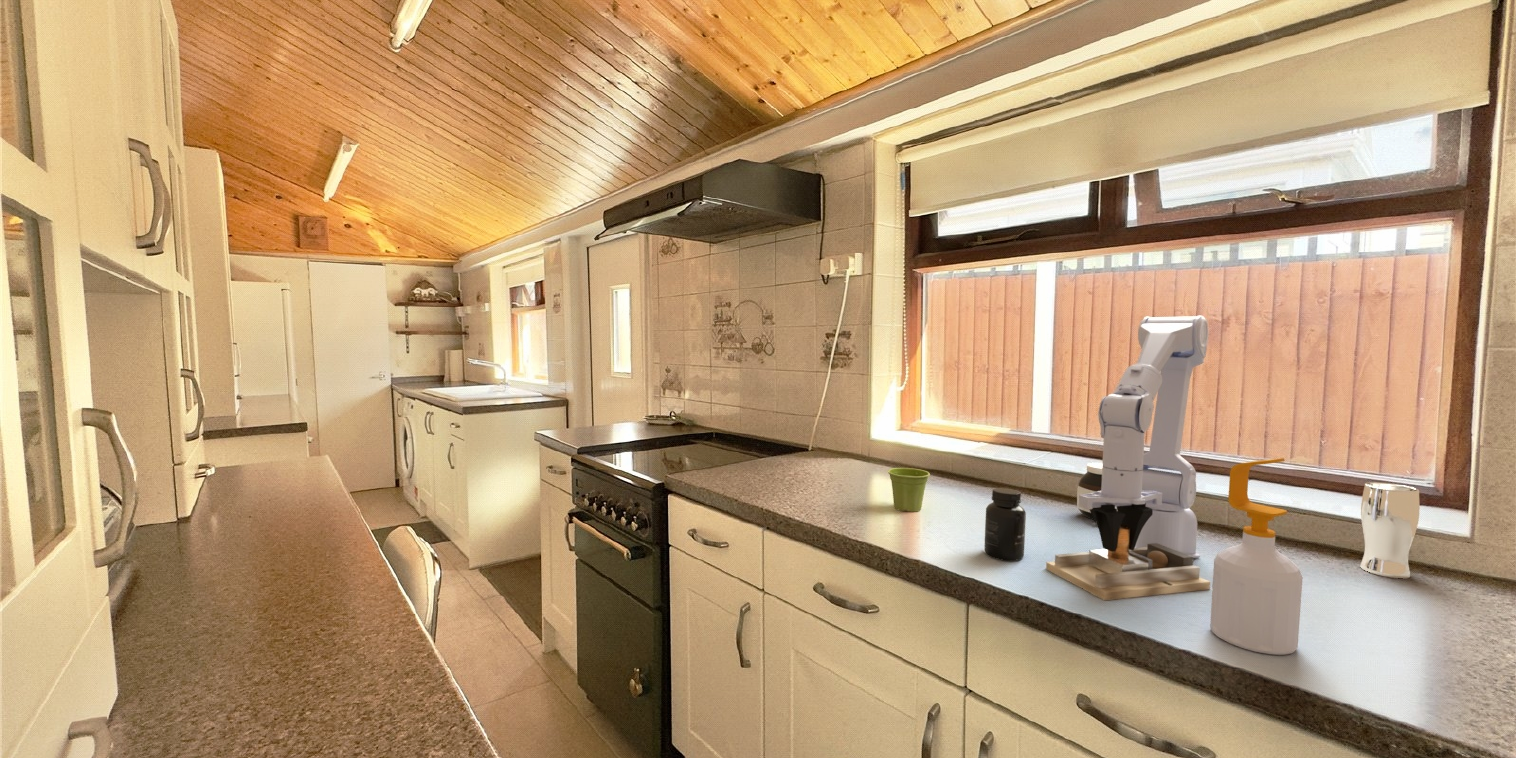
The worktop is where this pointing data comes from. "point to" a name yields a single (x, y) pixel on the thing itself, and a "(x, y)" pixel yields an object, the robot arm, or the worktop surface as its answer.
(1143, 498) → the robot arm
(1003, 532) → the supplement bottle
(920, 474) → the plant pot
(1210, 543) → the worktop surface
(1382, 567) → the beer glass
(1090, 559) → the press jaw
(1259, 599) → the soap bottle
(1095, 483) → the spread jar
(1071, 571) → the base
